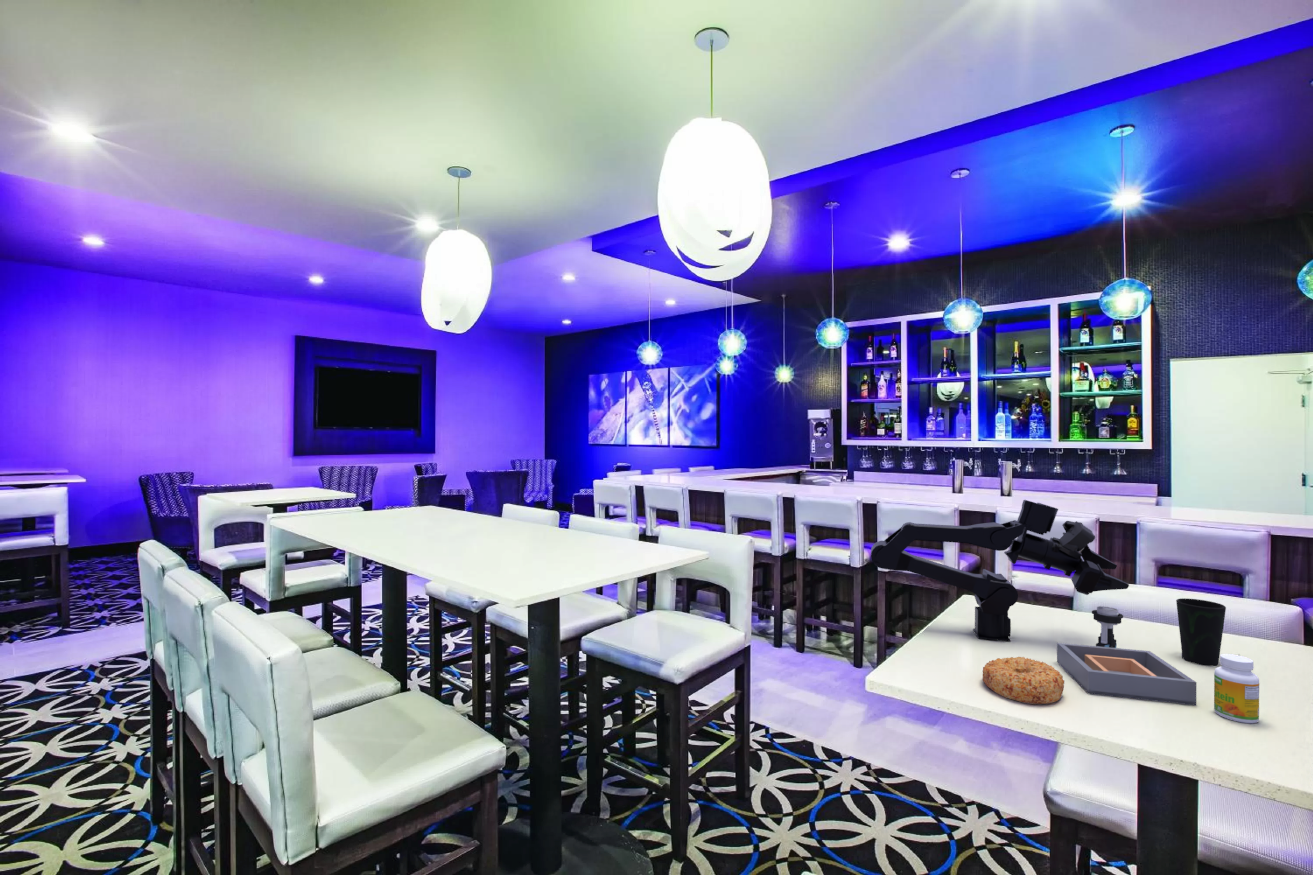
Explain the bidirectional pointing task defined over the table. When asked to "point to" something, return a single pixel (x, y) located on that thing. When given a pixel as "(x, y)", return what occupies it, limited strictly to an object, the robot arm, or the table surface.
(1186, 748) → the table surface
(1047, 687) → the bagel
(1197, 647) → the cup
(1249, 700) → the supplement bottle
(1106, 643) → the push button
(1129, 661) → the walled box
